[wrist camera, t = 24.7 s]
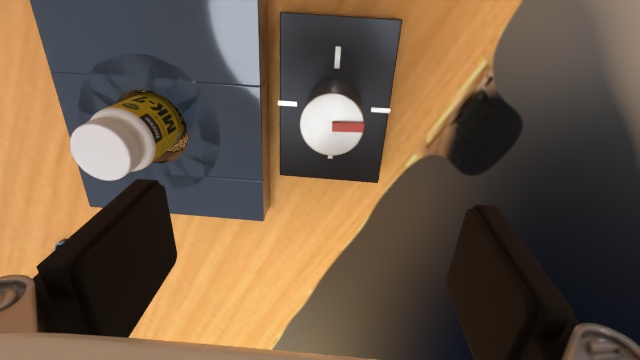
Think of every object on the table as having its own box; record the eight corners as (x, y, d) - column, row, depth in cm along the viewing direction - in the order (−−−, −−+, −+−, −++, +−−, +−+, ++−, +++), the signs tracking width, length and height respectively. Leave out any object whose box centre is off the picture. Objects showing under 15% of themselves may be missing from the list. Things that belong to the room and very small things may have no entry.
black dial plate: (285, 10, 25) (277, 11, 22) (397, 17, 25) (404, 19, 22) (284, 160, 31) (278, 176, 28) (376, 167, 30) (379, 184, 28)
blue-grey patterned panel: (51, -20, 25) (22, -22, 23) (266, -7, 25) (258, -7, 23) (106, 193, 34) (89, 206, 31) (269, 206, 33) (263, 221, 31)
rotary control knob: (307, 131, 26) (299, 156, 22) (306, 77, 24) (298, 93, 20) (359, 133, 26) (362, 158, 22) (363, 78, 24) (367, 95, 20)
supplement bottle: (200, 118, 29) (151, 157, 22) (169, 153, 31) (114, 199, 24) (153, 76, 28) (84, 102, 21) (124, 115, 30) (49, 152, 22)
